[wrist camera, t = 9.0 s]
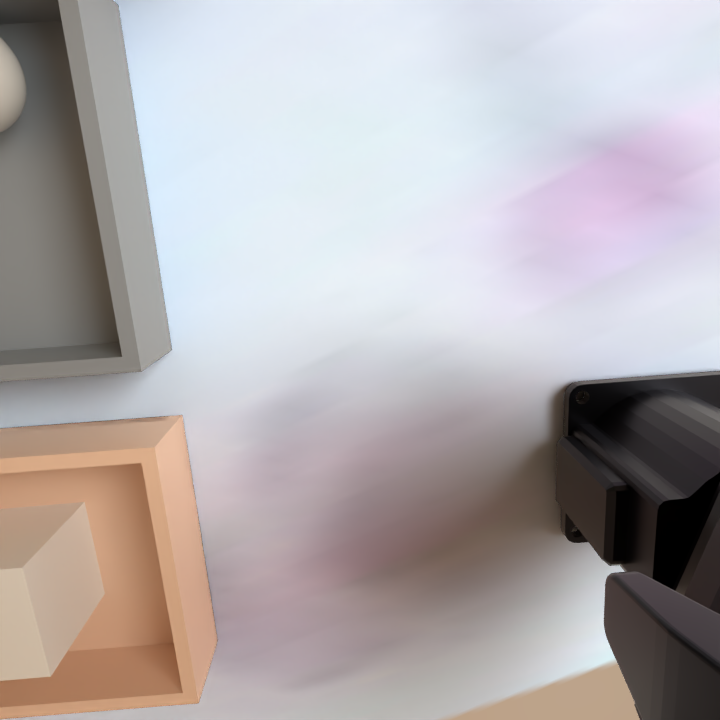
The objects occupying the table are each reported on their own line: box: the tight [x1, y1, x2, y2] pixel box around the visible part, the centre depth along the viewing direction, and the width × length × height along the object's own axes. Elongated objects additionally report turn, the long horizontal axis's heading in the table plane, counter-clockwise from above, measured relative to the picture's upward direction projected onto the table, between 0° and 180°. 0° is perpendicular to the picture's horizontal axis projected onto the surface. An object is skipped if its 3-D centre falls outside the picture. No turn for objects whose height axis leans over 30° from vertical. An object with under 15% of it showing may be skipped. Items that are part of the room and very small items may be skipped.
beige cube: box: [0, 502, 105, 681], centre depth 19 cm, size 4×4×4 cm
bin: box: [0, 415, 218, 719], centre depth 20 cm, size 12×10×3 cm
